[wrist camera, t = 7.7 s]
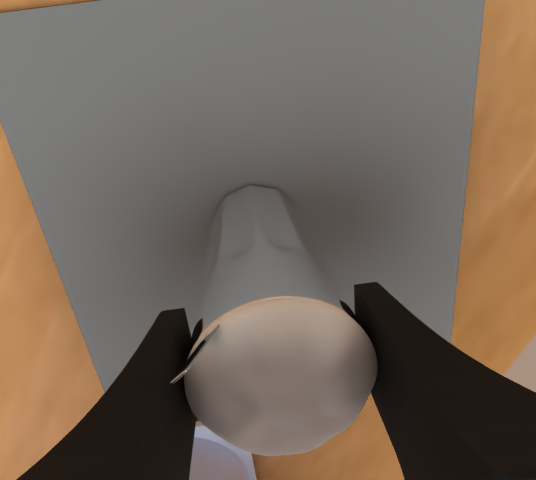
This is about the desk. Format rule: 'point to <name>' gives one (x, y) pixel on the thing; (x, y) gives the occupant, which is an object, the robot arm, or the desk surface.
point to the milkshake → (273, 334)
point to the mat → (240, 143)
